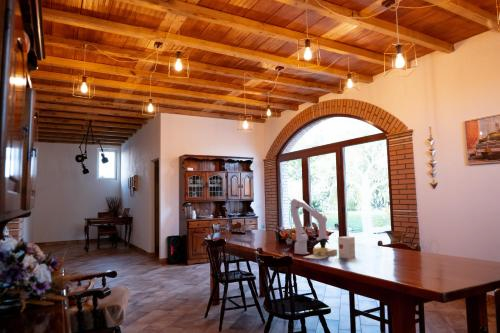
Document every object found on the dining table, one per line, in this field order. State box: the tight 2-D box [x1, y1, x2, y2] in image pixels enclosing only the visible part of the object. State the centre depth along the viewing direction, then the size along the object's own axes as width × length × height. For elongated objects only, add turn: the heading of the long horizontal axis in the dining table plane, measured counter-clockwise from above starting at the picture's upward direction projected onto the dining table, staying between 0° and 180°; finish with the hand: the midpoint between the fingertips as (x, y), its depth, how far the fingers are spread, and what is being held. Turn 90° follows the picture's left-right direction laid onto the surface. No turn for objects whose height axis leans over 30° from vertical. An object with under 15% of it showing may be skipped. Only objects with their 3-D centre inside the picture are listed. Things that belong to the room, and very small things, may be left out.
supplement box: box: [337, 236, 356, 260], centre depth 265 cm, size 9×9×15 cm
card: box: [312, 246, 329, 252], centre depth 274 cm, size 9×6×2 cm, turn 46°
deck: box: [312, 248, 338, 258], centre depth 278 cm, size 14×12×4 cm
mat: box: [303, 254, 329, 260], centre depth 268 cm, size 14×13×1 cm
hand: (323, 248), depth 276 cm, fingers closed
